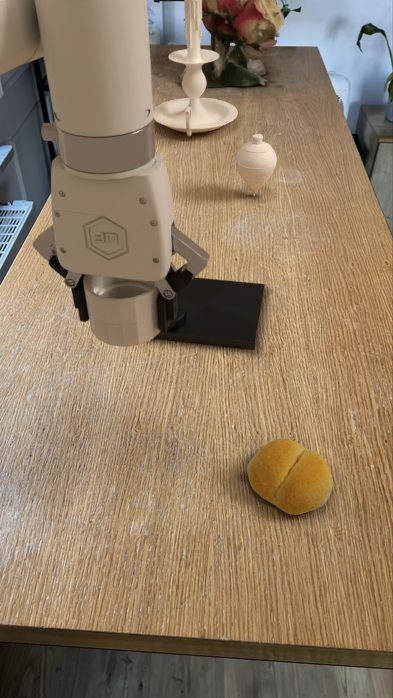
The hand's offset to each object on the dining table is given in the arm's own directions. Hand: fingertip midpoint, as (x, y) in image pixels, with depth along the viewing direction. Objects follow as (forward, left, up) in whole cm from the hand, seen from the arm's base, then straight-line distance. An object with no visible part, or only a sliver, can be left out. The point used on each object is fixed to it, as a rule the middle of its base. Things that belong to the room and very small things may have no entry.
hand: (127, 317), depth 58 cm
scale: (+4, +24, -18) cm, 30 cm away
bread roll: (+18, -4, -18) cm, 25 cm away
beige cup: (0, 0, -1) cm, 1 cm away
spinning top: (+7, +62, -18) cm, 65 cm away
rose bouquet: (-9, +137, -18) cm, 139 cm away
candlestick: (-11, +94, -18) cm, 97 cm away
